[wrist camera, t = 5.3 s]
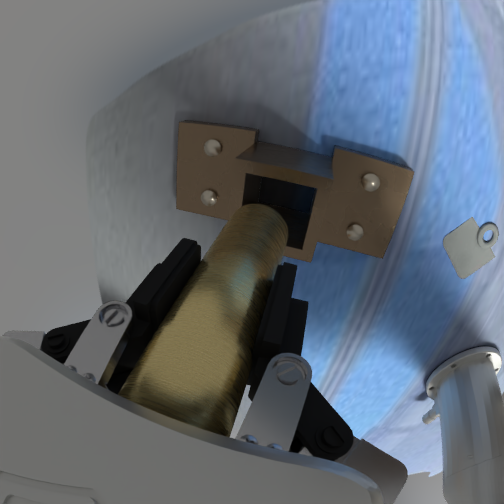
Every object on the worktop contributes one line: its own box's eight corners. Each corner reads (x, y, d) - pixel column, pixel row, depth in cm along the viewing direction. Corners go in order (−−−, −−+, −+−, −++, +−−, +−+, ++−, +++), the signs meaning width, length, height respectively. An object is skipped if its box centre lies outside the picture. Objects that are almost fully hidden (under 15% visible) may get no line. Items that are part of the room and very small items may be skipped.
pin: (287, 270, 16) (216, 522, 5) (219, 254, 16) (97, 473, 6) (303, 206, 14) (219, 525, 3) (224, 189, 14) (37, 434, 4)
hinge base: (380, 251, 24) (390, 294, 19) (182, 203, 26) (148, 233, 21) (410, 168, 19) (434, 194, 14) (185, 120, 22) (145, 132, 17)
